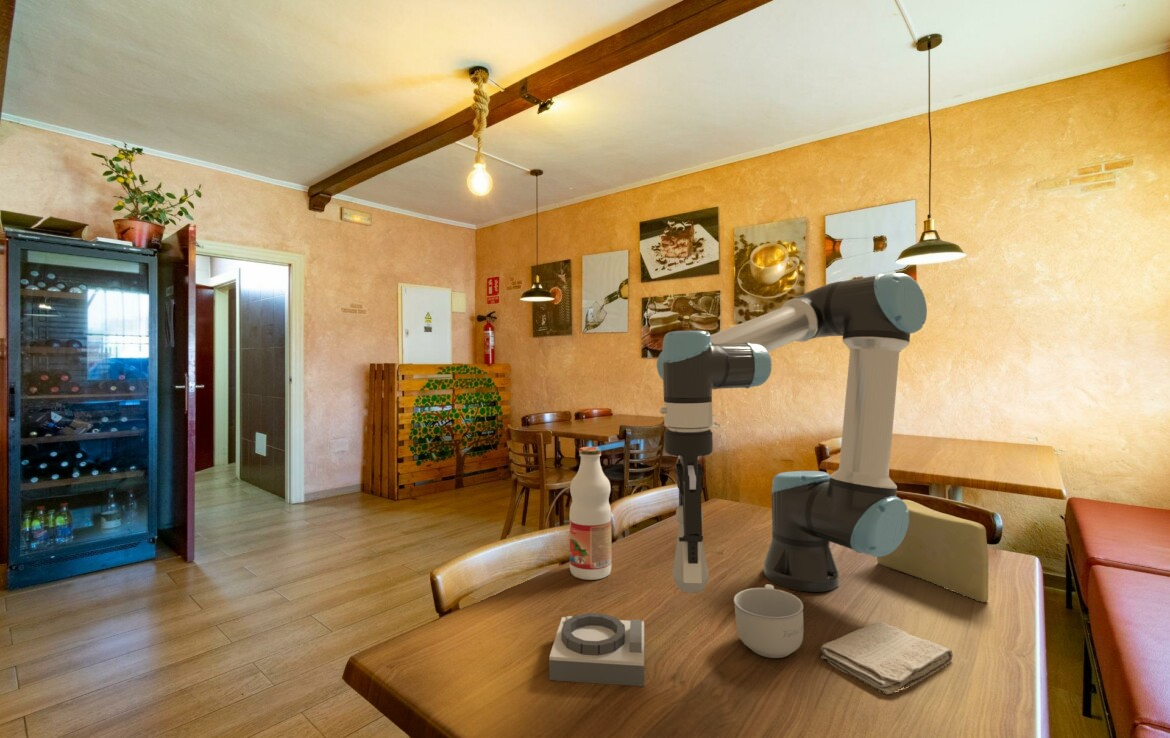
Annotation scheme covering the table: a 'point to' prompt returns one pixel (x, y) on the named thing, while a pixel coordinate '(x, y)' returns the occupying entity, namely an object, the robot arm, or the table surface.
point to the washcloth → (886, 657)
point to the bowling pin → (678, 562)
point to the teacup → (769, 621)
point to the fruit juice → (590, 519)
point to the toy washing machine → (598, 650)
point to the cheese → (943, 552)
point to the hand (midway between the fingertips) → (690, 572)
